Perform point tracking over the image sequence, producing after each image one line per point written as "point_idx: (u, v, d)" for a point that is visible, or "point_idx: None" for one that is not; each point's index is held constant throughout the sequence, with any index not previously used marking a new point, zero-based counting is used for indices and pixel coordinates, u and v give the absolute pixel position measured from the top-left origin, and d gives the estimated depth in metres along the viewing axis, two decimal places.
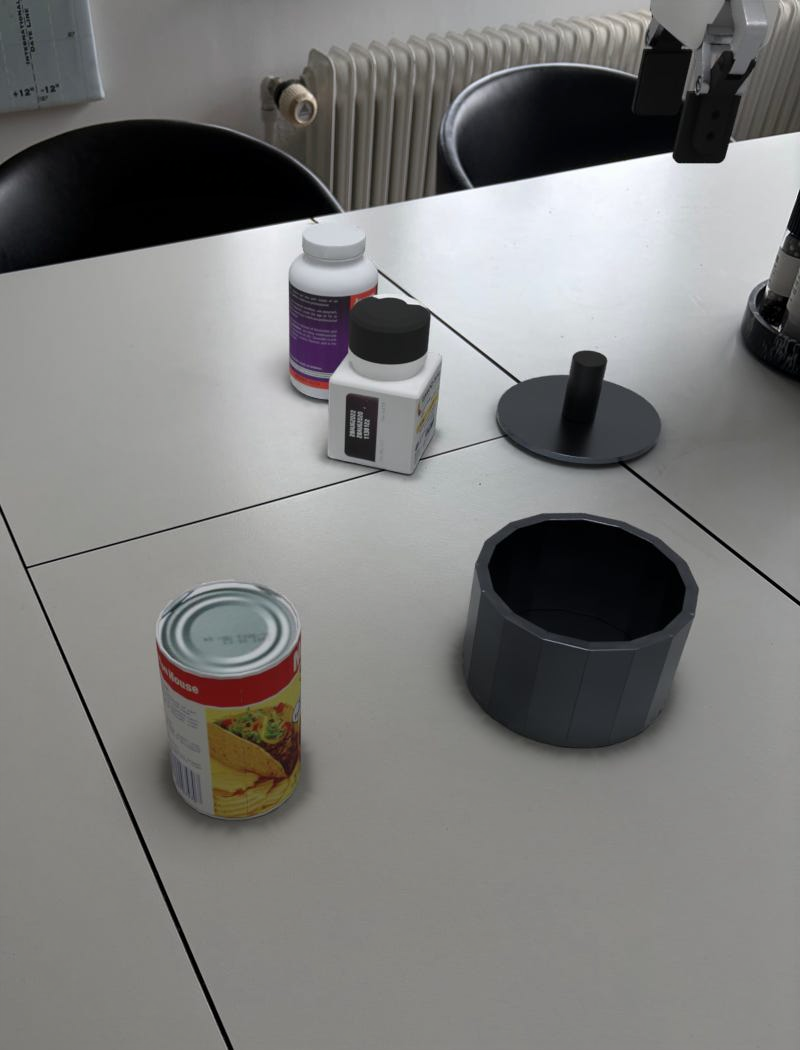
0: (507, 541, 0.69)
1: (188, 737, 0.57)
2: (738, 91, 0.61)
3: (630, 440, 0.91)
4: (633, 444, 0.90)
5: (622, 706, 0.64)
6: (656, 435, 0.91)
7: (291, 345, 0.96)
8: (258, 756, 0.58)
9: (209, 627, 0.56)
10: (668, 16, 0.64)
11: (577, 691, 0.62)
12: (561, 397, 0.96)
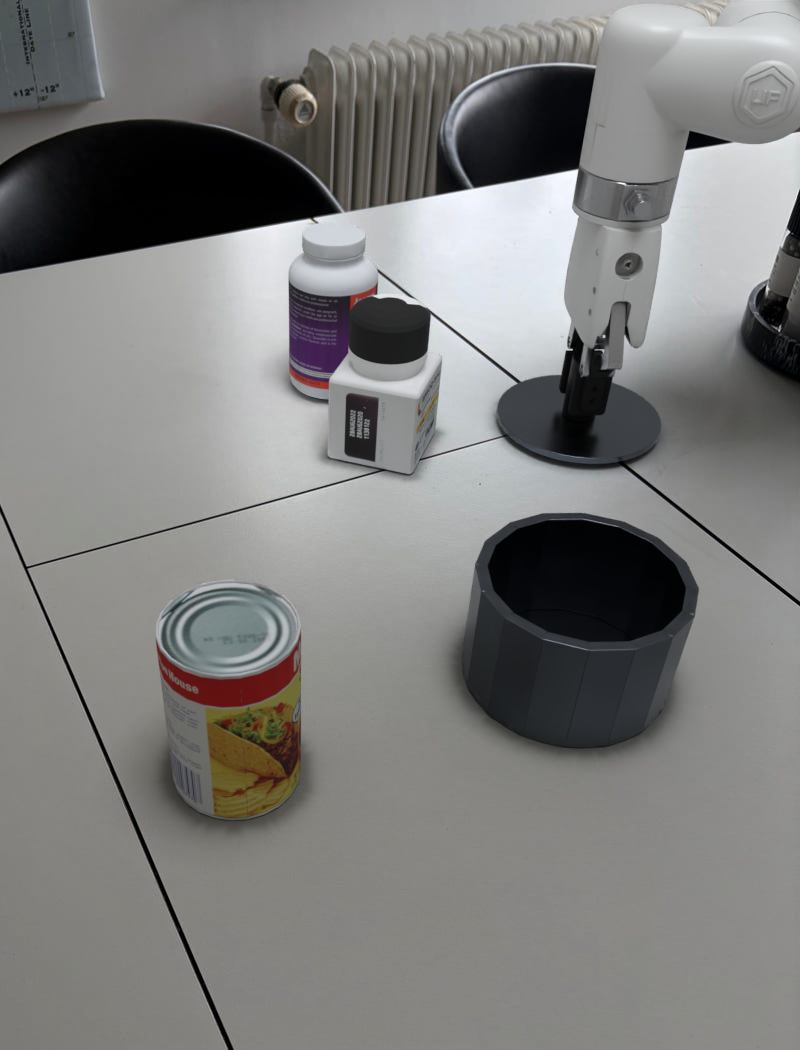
0: (507, 541, 0.69)
1: (188, 737, 0.57)
2: (607, 377, 0.88)
3: (630, 440, 0.91)
4: (633, 444, 0.90)
5: (622, 706, 0.64)
6: (656, 435, 0.91)
7: (291, 345, 0.96)
8: (258, 756, 0.58)
9: (210, 627, 0.56)
10: (573, 316, 0.87)
11: (577, 691, 0.62)
12: (561, 397, 0.96)
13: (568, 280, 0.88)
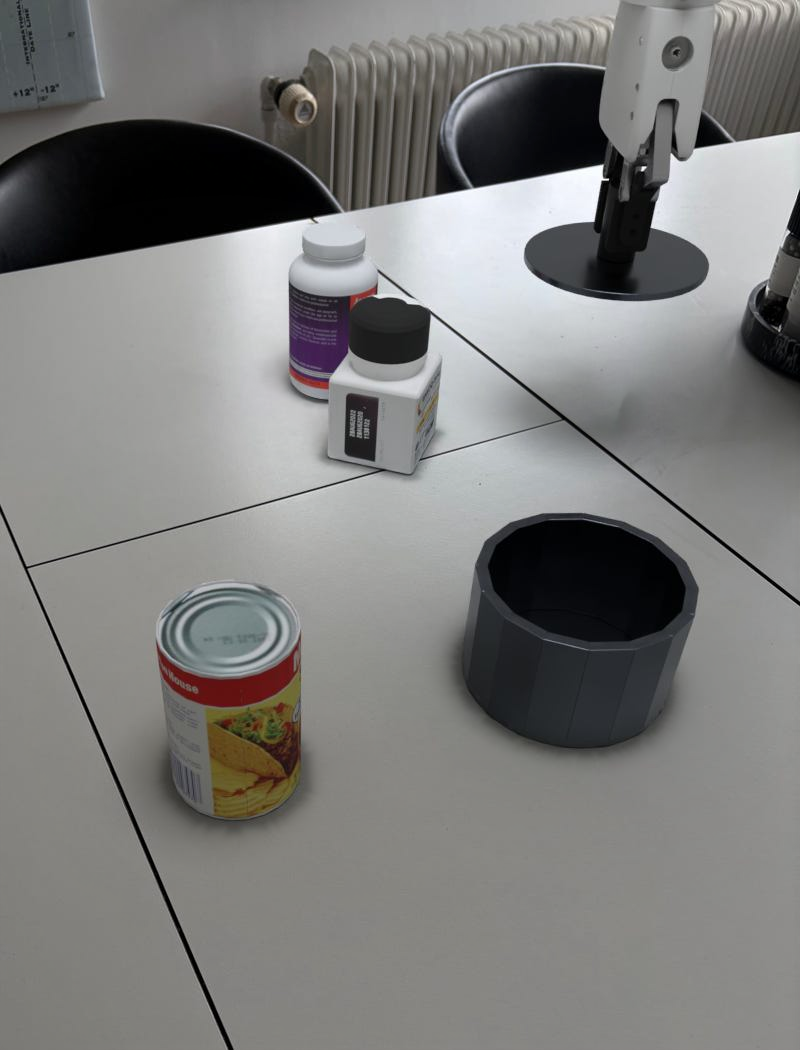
0: (507, 541, 0.69)
1: (188, 737, 0.57)
2: (650, 201, 0.78)
3: (675, 278, 0.81)
4: (679, 281, 0.80)
5: (622, 706, 0.64)
6: (704, 273, 0.81)
7: (291, 345, 0.96)
8: (258, 756, 0.58)
9: (209, 627, 0.56)
10: (611, 132, 0.77)
11: (577, 691, 0.62)
12: (595, 241, 0.86)
13: (604, 94, 0.79)
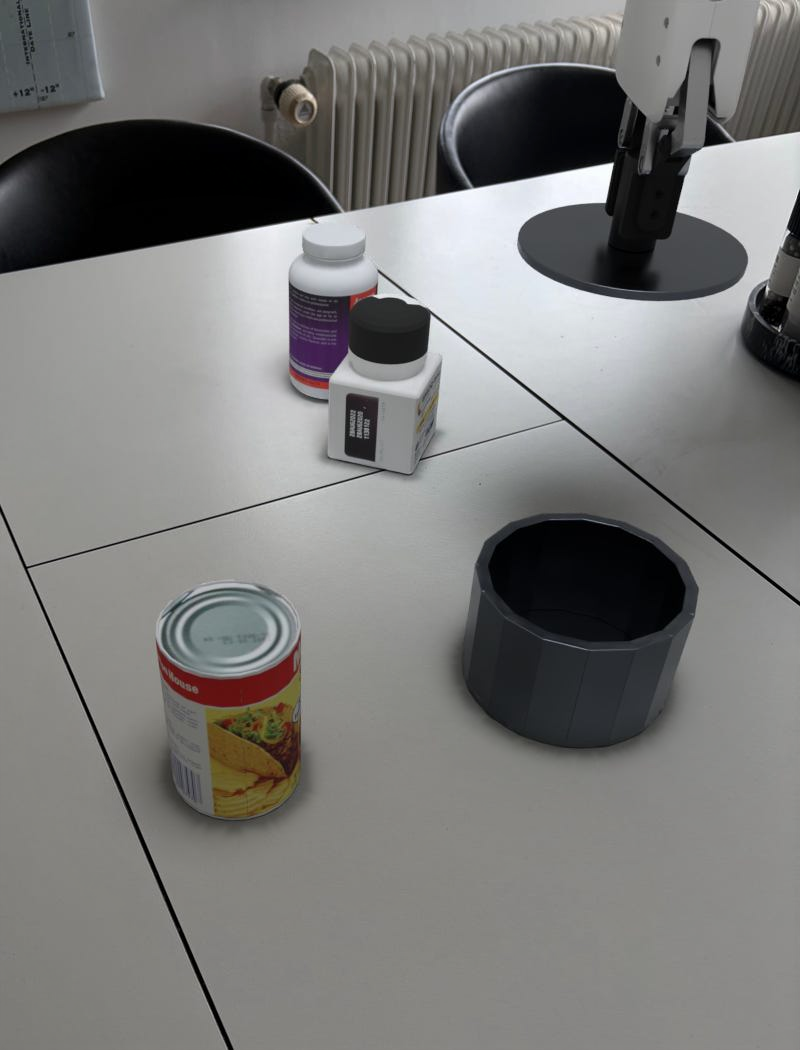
0: (507, 541, 0.69)
1: (188, 737, 0.57)
2: (678, 175, 0.62)
3: (706, 273, 0.64)
4: (711, 277, 0.64)
5: (622, 706, 0.64)
6: (742, 268, 0.65)
7: (291, 345, 0.96)
8: (258, 756, 0.58)
9: (209, 627, 0.56)
10: (631, 85, 0.61)
11: (577, 691, 0.62)
12: (606, 226, 0.69)
13: (623, 37, 0.62)
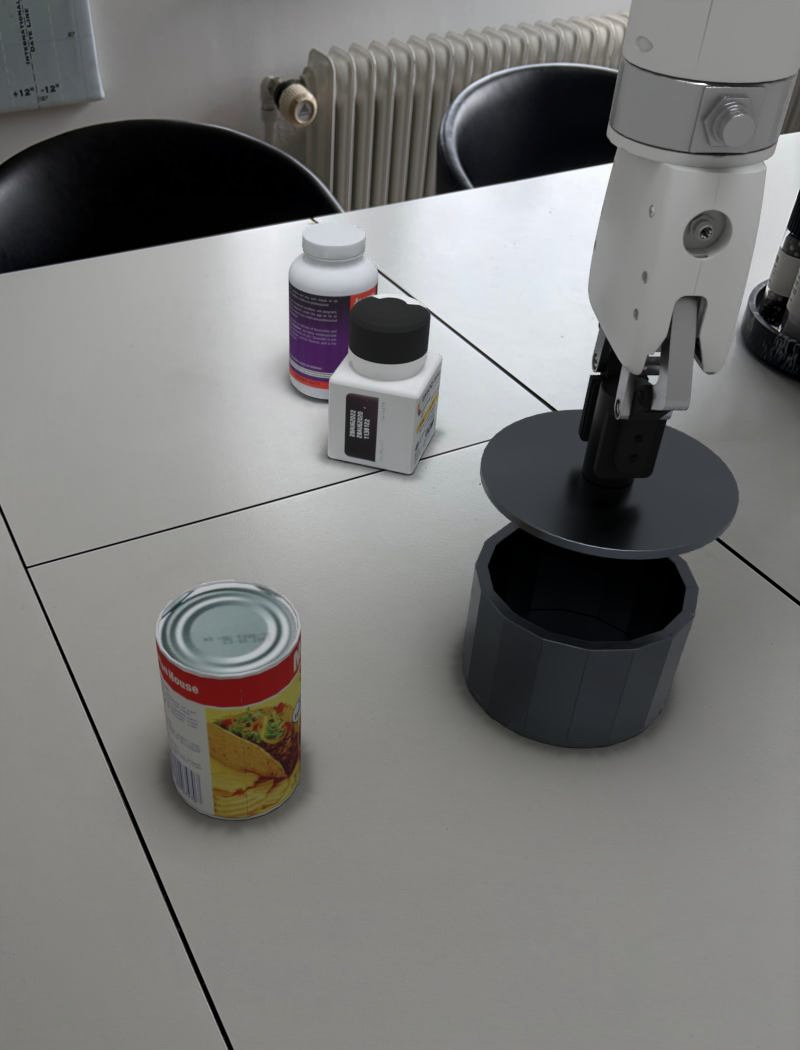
0: (507, 541, 0.69)
1: (188, 737, 0.57)
2: (660, 419, 0.54)
3: (692, 519, 0.57)
4: (697, 526, 0.56)
5: (622, 706, 0.64)
6: (733, 510, 0.57)
7: (291, 345, 0.96)
8: (258, 756, 0.58)
9: (209, 627, 0.56)
10: (605, 321, 0.53)
11: (577, 691, 0.62)
12: (580, 446, 0.62)
13: (596, 262, 0.54)
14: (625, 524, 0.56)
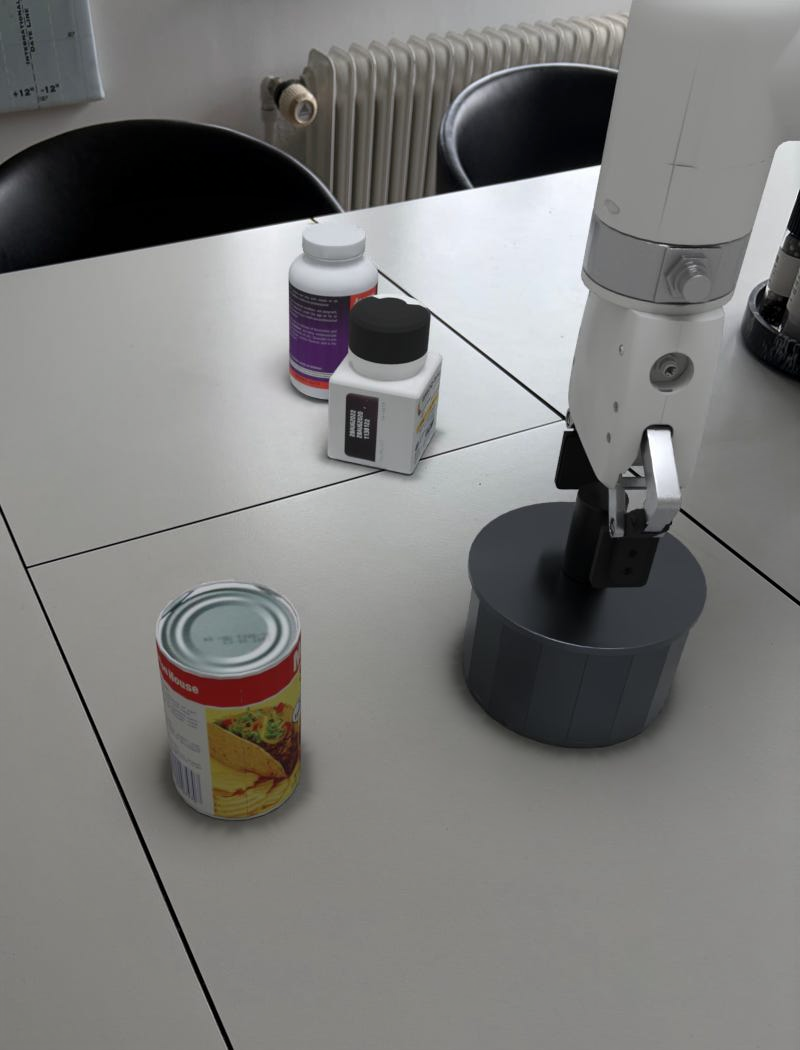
0: None
1: (188, 737, 0.57)
2: (656, 536, 0.56)
3: (662, 616, 0.61)
4: (667, 623, 0.61)
5: (622, 706, 0.64)
6: (700, 606, 0.62)
7: (291, 345, 0.96)
8: (258, 756, 0.58)
9: (209, 627, 0.56)
10: (583, 434, 0.58)
11: (577, 691, 0.62)
12: (560, 540, 0.67)
13: (574, 378, 0.59)
14: (600, 621, 0.61)
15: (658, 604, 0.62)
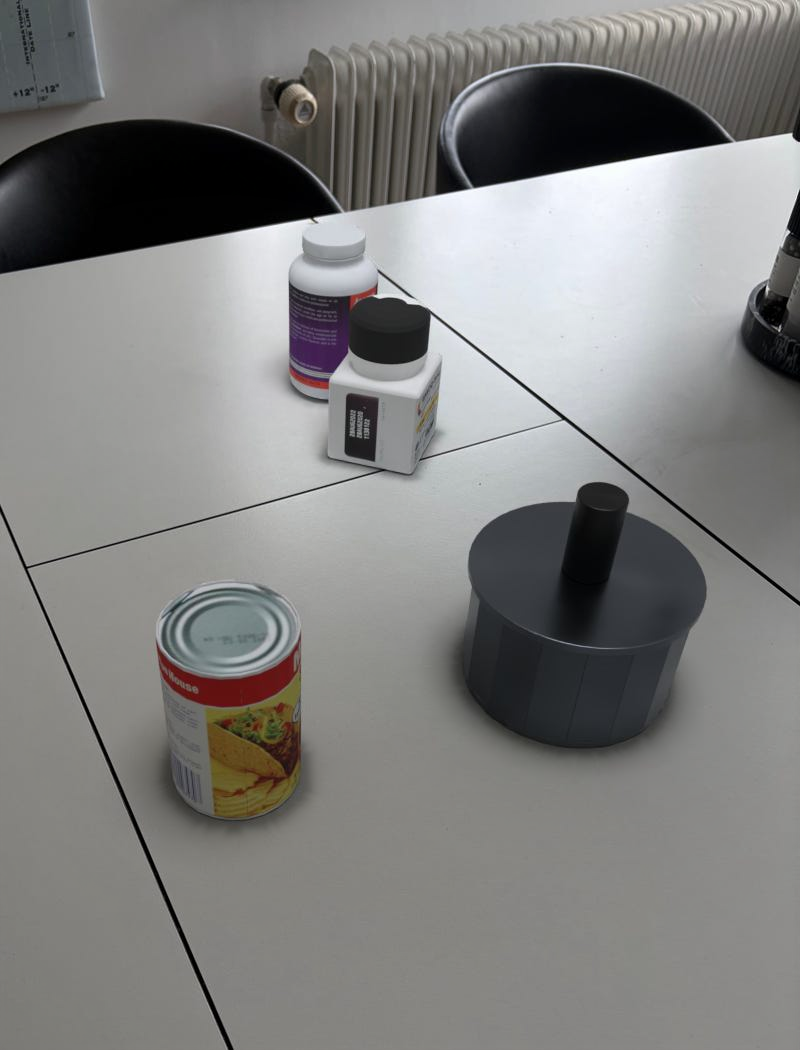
0: None
1: (188, 737, 0.57)
2: None
3: (662, 616, 0.61)
4: (667, 623, 0.61)
5: (622, 706, 0.64)
6: (700, 606, 0.62)
7: (291, 345, 0.96)
8: (258, 756, 0.58)
9: (210, 627, 0.56)
10: None
11: (577, 691, 0.62)
12: (560, 540, 0.67)
13: None
14: (600, 621, 0.61)
15: (658, 604, 0.62)
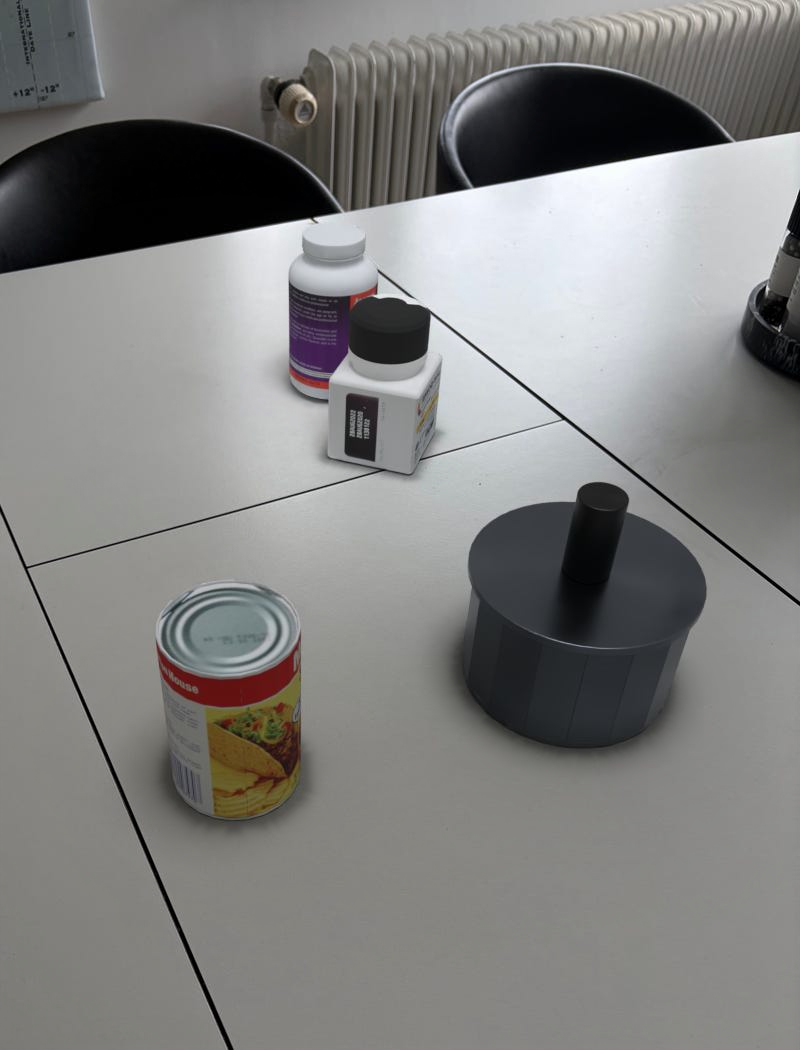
0: None
1: (188, 737, 0.57)
2: None
3: (662, 616, 0.61)
4: (667, 623, 0.61)
5: (622, 706, 0.64)
6: (700, 606, 0.62)
7: (291, 345, 0.96)
8: (258, 756, 0.58)
9: (209, 627, 0.56)
10: None
11: (577, 691, 0.62)
12: (560, 540, 0.67)
13: None
14: (600, 621, 0.61)
15: (658, 604, 0.62)
